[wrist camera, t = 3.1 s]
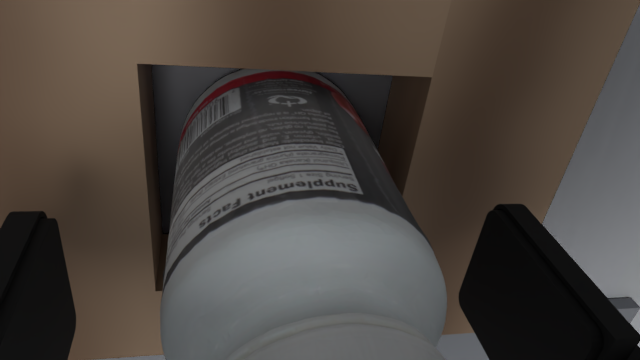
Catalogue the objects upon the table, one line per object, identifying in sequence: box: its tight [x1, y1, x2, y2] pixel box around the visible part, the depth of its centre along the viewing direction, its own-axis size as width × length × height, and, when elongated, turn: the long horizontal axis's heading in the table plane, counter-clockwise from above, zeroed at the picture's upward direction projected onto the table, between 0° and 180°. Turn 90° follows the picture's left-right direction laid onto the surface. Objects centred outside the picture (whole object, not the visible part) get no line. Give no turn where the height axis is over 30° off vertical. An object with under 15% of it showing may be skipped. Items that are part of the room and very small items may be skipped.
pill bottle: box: [160, 69, 447, 360], centre depth 11 cm, size 5×5×10 cm
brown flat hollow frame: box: [0, 0, 640, 360], centre depth 14 cm, size 16×12×2 cm
